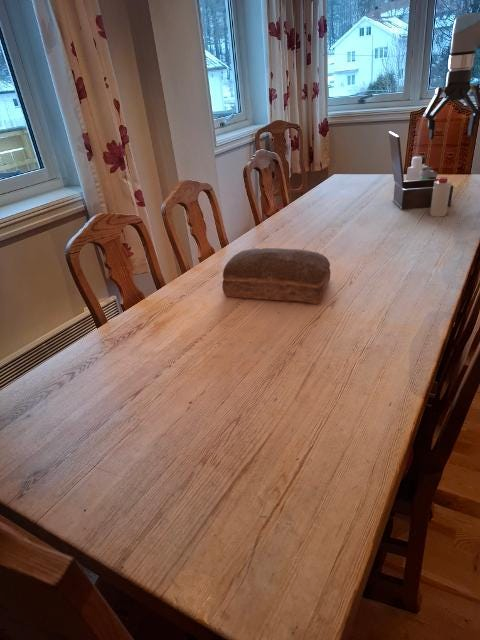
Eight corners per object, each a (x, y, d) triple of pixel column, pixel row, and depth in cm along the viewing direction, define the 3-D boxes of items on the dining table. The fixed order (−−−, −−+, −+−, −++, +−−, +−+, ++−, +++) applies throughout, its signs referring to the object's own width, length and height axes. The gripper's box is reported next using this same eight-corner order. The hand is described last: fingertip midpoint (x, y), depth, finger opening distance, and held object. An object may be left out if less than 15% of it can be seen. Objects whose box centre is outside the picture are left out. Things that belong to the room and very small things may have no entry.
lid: (390, 131, 176) (388, 132, 176) (399, 136, 164) (397, 136, 164) (396, 180, 186) (394, 181, 186) (404, 188, 174) (402, 188, 174)
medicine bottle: (412, 179, 219) (415, 154, 213) (426, 180, 214) (429, 155, 208) (405, 182, 215) (408, 157, 209) (419, 183, 210) (422, 158, 204)
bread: (322, 306, 114) (322, 267, 108) (220, 297, 124) (215, 261, 118) (332, 279, 128) (333, 243, 122) (239, 273, 137) (236, 239, 132)
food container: (415, 188, 204) (418, 166, 199) (429, 188, 202) (432, 166, 197) (419, 195, 193) (422, 172, 188) (434, 195, 192) (437, 172, 187)
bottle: (442, 211, 172) (448, 175, 165) (448, 215, 167) (454, 179, 160) (427, 212, 173) (432, 176, 166) (432, 217, 168) (437, 180, 161)
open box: (438, 197, 188) (441, 178, 184) (450, 206, 177) (453, 186, 172) (393, 200, 190) (394, 181, 186) (401, 209, 178) (403, 189, 174)
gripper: (493, 65, 147) (481, 132, 158) (418, 73, 149) (411, 138, 160) (504, 65, 140) (491, 135, 151) (425, 73, 143) (418, 141, 153)
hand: (450, 137), depth 155 cm, fingers open, 13 cm apart
